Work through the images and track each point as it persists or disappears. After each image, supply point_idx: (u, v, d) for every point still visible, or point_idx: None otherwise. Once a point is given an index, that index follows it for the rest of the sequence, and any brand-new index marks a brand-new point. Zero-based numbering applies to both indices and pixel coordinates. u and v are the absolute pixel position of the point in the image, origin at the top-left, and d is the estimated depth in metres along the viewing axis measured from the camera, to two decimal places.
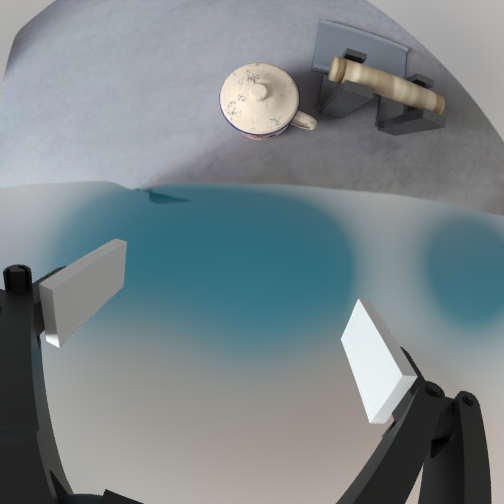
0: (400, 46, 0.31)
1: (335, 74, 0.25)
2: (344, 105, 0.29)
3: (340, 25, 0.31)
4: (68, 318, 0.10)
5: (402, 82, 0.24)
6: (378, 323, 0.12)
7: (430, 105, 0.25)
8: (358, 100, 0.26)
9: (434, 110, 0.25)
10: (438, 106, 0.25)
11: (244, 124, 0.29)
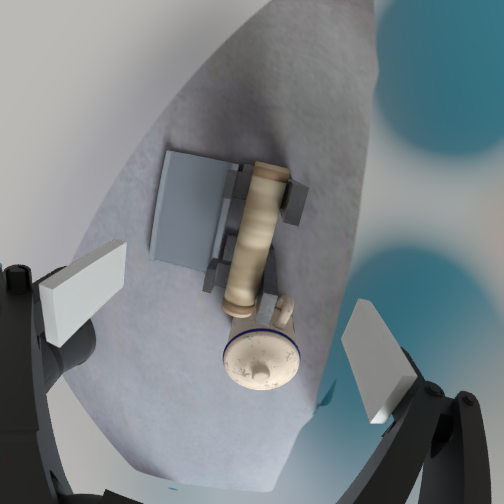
0: (166, 161, 0.33)
1: (251, 312, 0.27)
2: None
3: (153, 239, 0.36)
4: (68, 318, 0.10)
5: (256, 235, 0.24)
6: (378, 323, 0.12)
7: (282, 190, 0.24)
8: None
9: (286, 182, 0.24)
10: (284, 179, 0.23)
11: (288, 377, 0.32)
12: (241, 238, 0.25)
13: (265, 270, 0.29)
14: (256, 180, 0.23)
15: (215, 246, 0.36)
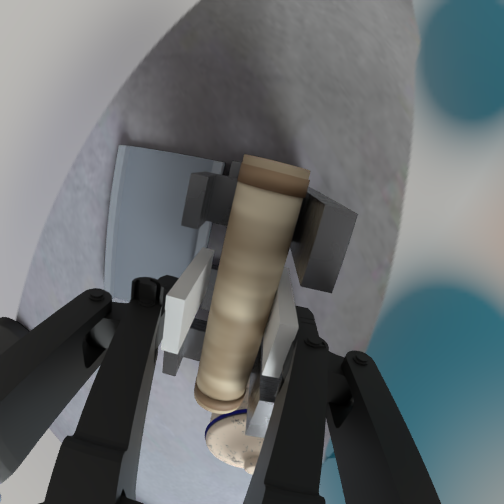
0: (119, 161, 0.21)
1: (240, 403, 0.16)
2: None
3: (107, 271, 0.24)
4: (185, 325, 0.12)
5: (245, 299, 0.13)
6: (283, 284, 0.14)
7: (295, 213, 0.12)
8: None
9: (303, 196, 0.12)
10: (299, 191, 0.12)
11: None
12: (217, 300, 0.13)
13: None
14: (244, 192, 0.12)
15: None
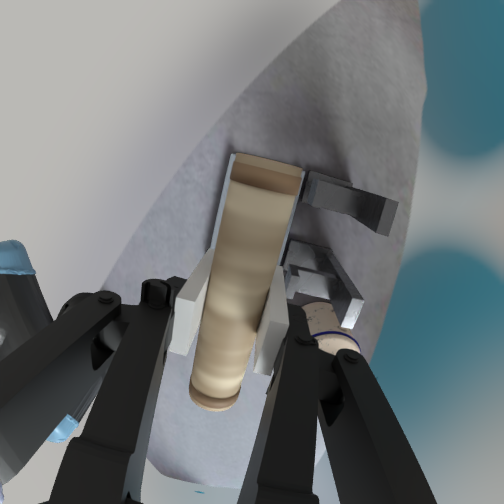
0: (231, 165, 0.33)
1: (232, 403, 0.16)
2: None
3: (213, 244, 0.36)
4: (194, 327, 0.12)
5: (232, 295, 0.13)
6: (276, 282, 0.14)
7: (283, 210, 0.12)
8: None
9: (294, 193, 0.12)
10: (286, 187, 0.11)
11: None
12: (208, 295, 0.14)
13: (340, 276, 0.29)
14: (232, 189, 0.12)
15: None
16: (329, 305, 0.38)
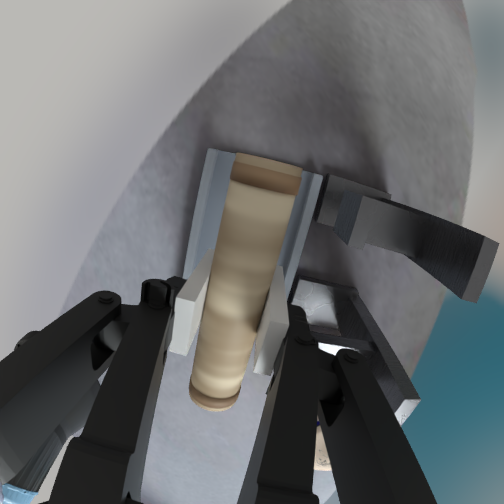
0: (208, 165, 0.21)
1: (232, 403, 0.16)
2: None
3: None
4: (194, 327, 0.12)
5: (232, 295, 0.13)
6: (276, 282, 0.14)
7: (283, 210, 0.12)
8: None
9: (294, 193, 0.12)
10: (286, 187, 0.11)
11: None
12: (208, 295, 0.14)
13: (378, 345, 0.17)
14: (232, 189, 0.12)
15: None
16: None
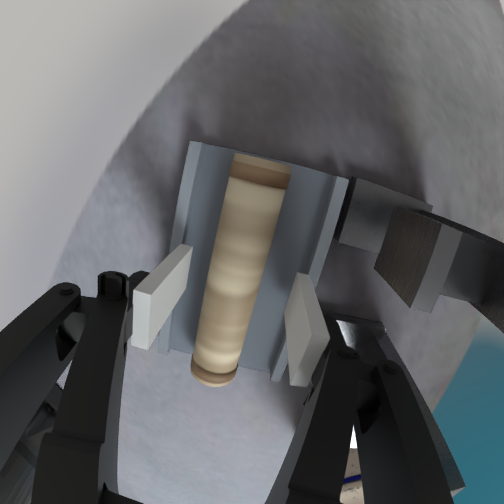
0: (191, 165, 0.15)
1: (227, 381, 0.18)
2: None
3: None
4: (155, 321, 0.12)
5: (225, 273, 0.15)
6: (307, 292, 0.14)
7: (270, 201, 0.14)
8: None
9: (280, 187, 0.14)
10: (271, 181, 0.13)
11: None
12: (208, 274, 0.16)
13: None
14: (229, 183, 0.14)
15: None
16: None
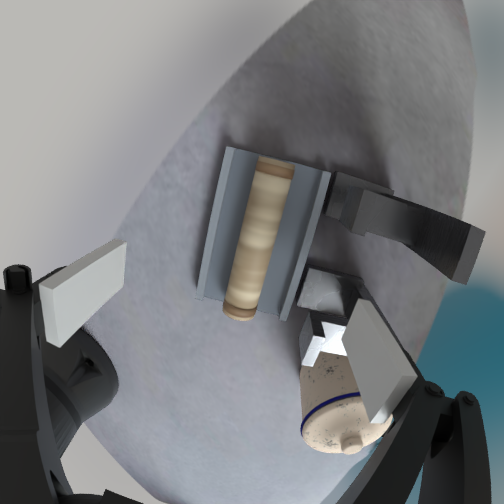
0: (226, 162, 0.23)
1: (251, 316, 0.26)
2: None
3: (203, 271, 0.26)
4: (68, 318, 0.10)
5: (254, 233, 0.23)
6: (378, 323, 0.12)
7: (283, 186, 0.22)
8: None
9: (289, 178, 0.22)
10: (284, 174, 0.21)
11: (375, 438, 0.22)
12: (241, 236, 0.24)
13: None
14: (256, 175, 0.22)
15: (292, 283, 0.26)
16: None
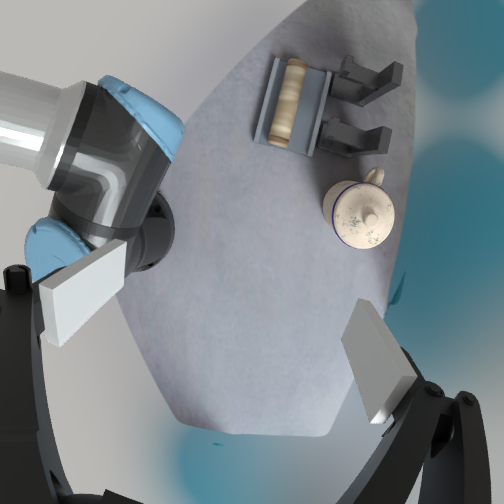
0: (275, 65, 0.37)
1: (282, 143, 0.39)
2: None
3: (260, 123, 0.40)
4: (68, 318, 0.10)
5: (283, 92, 0.37)
6: (378, 323, 0.12)
7: (298, 70, 0.35)
8: None
9: (301, 67, 0.35)
10: (297, 64, 0.35)
11: (386, 231, 0.36)
12: (278, 98, 0.38)
13: (369, 130, 0.33)
14: (286, 68, 0.37)
15: (314, 130, 0.40)
16: None
